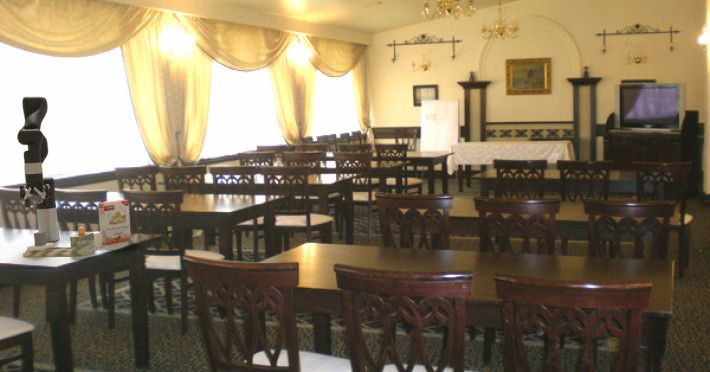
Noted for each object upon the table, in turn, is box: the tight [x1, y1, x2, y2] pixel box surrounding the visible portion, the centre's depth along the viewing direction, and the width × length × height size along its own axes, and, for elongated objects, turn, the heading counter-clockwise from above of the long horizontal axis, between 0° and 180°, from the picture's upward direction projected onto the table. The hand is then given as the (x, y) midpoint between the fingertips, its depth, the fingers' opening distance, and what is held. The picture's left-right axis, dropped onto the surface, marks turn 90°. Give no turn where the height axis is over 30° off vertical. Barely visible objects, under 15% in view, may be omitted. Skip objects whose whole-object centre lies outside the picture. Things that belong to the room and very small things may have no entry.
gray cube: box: [26, 231, 55, 250], centre depth 302 cm, size 8×9×8 cm
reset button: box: [77, 226, 86, 235], centre depth 300 cm, size 3×3×5 cm
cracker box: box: [97, 199, 132, 246], centre depth 325 cm, size 14×6×21 cm, turn 143°
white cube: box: [88, 230, 102, 248], centre depth 316 cm, size 7×7×7 cm
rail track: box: [22, 232, 96, 257], centre depth 302 cm, size 30×10×9 cm, turn 83°
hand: (36, 207), depth 301 cm, fingers open, 8 cm apart
